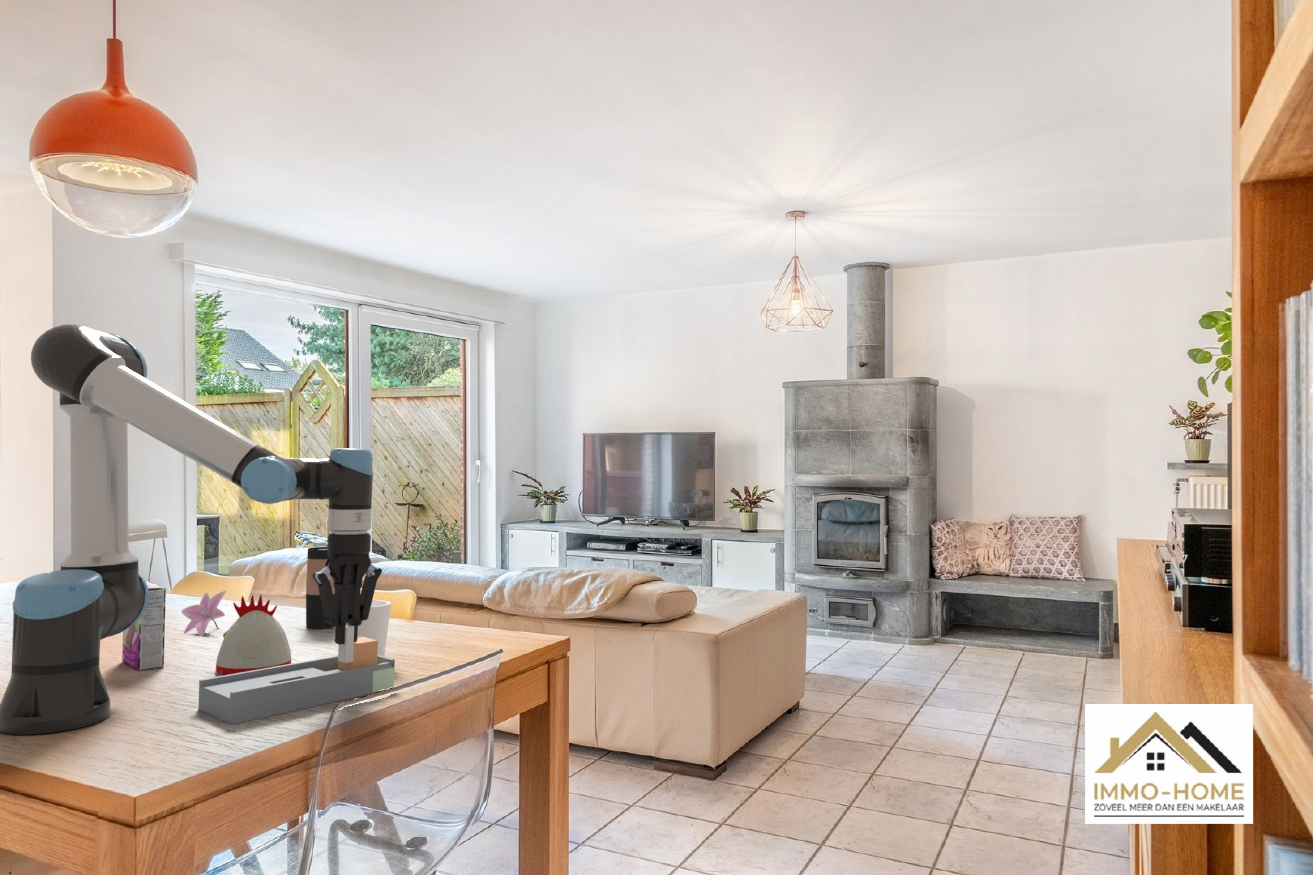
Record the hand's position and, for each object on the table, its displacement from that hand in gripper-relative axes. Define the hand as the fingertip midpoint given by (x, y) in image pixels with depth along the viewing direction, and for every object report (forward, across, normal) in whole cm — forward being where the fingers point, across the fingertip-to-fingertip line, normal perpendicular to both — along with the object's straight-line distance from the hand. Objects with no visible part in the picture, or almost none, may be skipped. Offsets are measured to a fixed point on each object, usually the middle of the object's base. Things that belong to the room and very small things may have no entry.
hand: (345, 661), depth 158 cm
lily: (+6, +7, +75) cm, 76 cm away
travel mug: (+6, +30, +62) cm, 69 cm away
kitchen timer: (+6, -2, +30) cm, 31 cm away
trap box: (+6, -7, +2) cm, 9 cm away
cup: (+6, +15, +18) cm, 24 cm away
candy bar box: (+6, -16, +50) cm, 52 cm away
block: (+2, +3, +1) cm, 4 cm away
